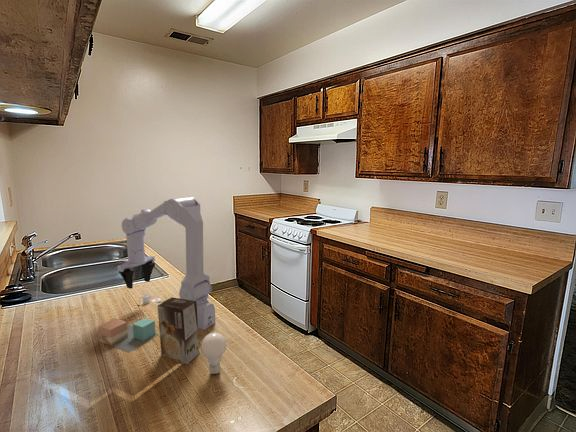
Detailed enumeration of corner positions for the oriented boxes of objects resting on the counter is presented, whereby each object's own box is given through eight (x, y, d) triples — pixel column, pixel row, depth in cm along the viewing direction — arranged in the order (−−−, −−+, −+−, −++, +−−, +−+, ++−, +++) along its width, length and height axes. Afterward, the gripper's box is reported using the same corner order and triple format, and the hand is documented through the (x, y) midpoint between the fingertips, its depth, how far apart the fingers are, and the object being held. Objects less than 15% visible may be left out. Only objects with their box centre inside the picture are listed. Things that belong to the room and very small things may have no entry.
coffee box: (200, 352, 94) (198, 300, 91) (186, 365, 88) (183, 310, 85) (175, 346, 97) (172, 296, 94) (160, 358, 91) (156, 305, 89)
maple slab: (128, 336, 101) (127, 329, 100) (111, 345, 96) (111, 337, 96) (116, 332, 103) (115, 325, 103) (100, 341, 98) (99, 333, 98)
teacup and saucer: (163, 301, 131) (163, 292, 130) (153, 310, 123) (152, 300, 122) (143, 300, 132) (142, 291, 131) (132, 309, 124) (131, 299, 123)
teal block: (155, 334, 102) (154, 320, 102) (143, 340, 98) (142, 327, 98) (145, 331, 104) (144, 318, 104) (133, 337, 100) (132, 324, 100)
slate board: (159, 337, 102) (159, 334, 102) (128, 355, 92) (128, 352, 92) (129, 328, 108) (129, 325, 108) (97, 344, 99) (97, 341, 98)
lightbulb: (206, 365, 88) (204, 327, 86) (229, 365, 88) (228, 328, 86) (199, 380, 81) (197, 340, 80) (224, 381, 81) (222, 340, 80)
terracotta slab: (127, 329, 100) (126, 321, 100) (111, 337, 96) (110, 329, 95) (115, 325, 103) (115, 318, 102) (99, 333, 98) (98, 326, 98)
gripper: (144, 244, 127) (147, 277, 129) (110, 252, 114) (113, 289, 116) (157, 246, 124) (159, 279, 126) (124, 255, 111) (127, 292, 113)
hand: (138, 284), depth 121 cm, fingers open, 7 cm apart
